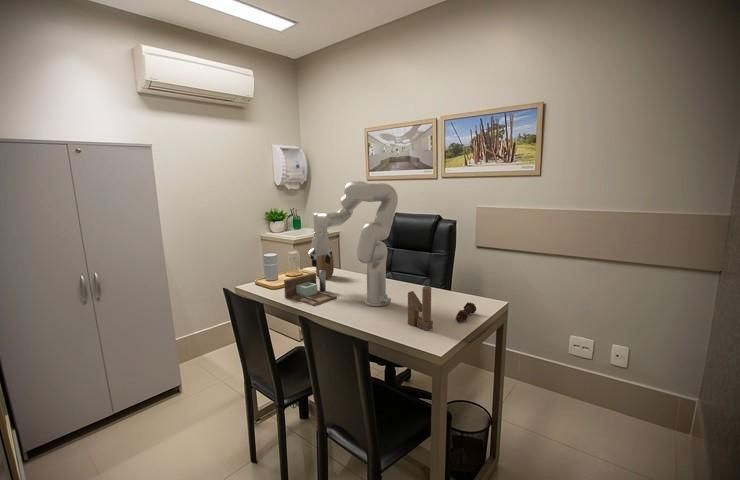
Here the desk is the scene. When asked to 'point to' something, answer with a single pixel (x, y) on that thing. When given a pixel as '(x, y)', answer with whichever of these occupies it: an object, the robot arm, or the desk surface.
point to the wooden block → (420, 309)
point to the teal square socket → (307, 289)
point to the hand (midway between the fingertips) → (321, 264)
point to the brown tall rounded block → (325, 266)
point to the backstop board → (311, 300)
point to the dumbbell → (465, 312)
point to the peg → (322, 280)
